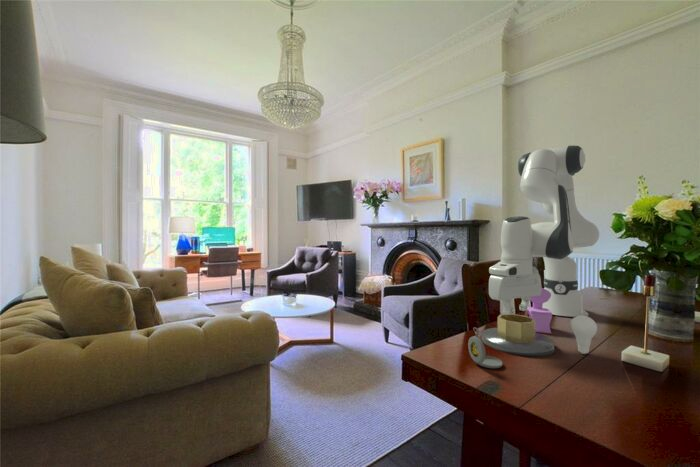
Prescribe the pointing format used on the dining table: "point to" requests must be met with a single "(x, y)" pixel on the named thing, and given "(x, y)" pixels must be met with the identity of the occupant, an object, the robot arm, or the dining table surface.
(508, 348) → the lamp base
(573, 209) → the robot arm
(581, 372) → the dining table surface
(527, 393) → the dining table surface
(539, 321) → the toy chair
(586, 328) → the lightbulb
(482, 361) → the pocket watch
